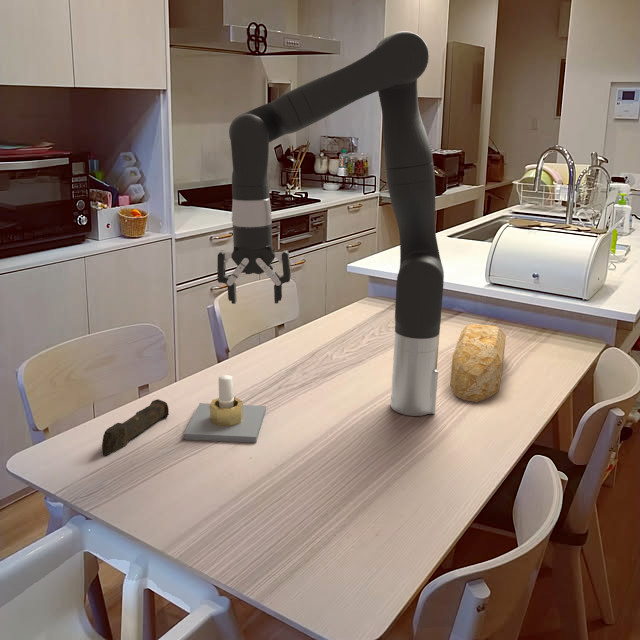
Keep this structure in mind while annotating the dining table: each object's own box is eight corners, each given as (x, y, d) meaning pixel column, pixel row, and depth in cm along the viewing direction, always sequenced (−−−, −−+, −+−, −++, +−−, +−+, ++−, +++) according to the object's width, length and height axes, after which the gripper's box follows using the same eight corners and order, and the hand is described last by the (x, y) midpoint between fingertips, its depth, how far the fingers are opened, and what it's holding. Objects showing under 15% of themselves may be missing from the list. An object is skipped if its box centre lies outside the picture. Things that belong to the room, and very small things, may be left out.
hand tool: (154, 414, 147) (152, 394, 146) (170, 418, 146) (168, 397, 144) (91, 455, 131) (89, 432, 129) (108, 459, 129) (106, 436, 128)
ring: (244, 413, 145) (244, 397, 144) (239, 426, 139) (239, 410, 138) (214, 411, 146) (214, 396, 144) (208, 425, 140) (207, 409, 139)
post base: (265, 411, 149) (265, 366, 146) (256, 442, 136) (255, 393, 133) (200, 408, 150) (198, 363, 147) (184, 439, 136) (181, 390, 133)
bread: (496, 405, 155) (500, 362, 152) (446, 398, 158) (449, 356, 155) (504, 351, 188) (508, 315, 184) (463, 346, 190) (466, 310, 187)
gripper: (290, 218, 140) (292, 297, 145) (218, 218, 140) (222, 297, 145) (287, 225, 132) (289, 308, 137) (211, 225, 133) (216, 308, 138)
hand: (255, 302), depth 141 cm, fingers open, 8 cm apart
